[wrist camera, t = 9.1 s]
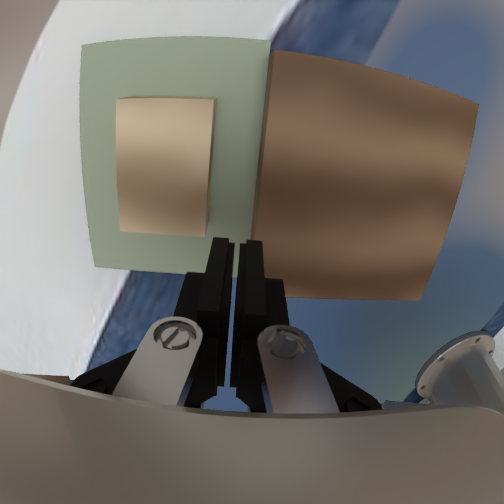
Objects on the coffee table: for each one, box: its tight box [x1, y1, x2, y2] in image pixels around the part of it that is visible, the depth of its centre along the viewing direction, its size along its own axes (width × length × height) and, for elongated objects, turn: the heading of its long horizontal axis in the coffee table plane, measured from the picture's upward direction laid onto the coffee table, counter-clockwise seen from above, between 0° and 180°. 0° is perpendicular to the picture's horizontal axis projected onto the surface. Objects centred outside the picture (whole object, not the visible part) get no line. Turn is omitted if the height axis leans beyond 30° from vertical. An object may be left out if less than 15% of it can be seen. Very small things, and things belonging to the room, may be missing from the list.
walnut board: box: [250, 50, 479, 300], centre depth 21 cm, size 16×14×4 cm
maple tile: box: [116, 96, 217, 237], centre depth 20 cm, size 9×6×2 cm, turn 174°
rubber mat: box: [80, 36, 271, 277], centre depth 22 cm, size 18×13×1 cm
